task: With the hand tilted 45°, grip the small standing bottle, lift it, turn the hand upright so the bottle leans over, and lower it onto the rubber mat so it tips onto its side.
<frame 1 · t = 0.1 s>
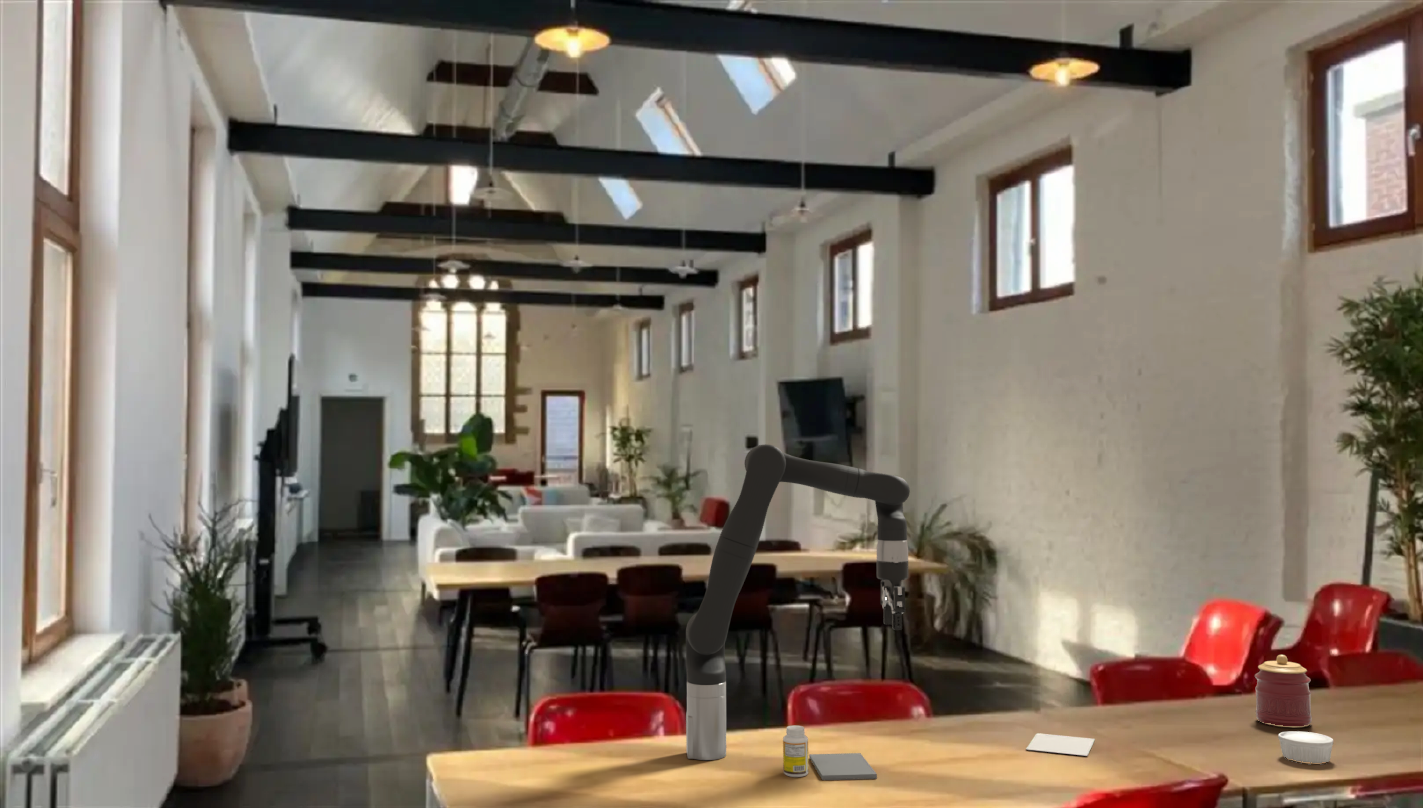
hand: (892, 627, 265), 29 cm above the table, tool pointing down, fingers open, 8 cm apart
paper stack: (1079, 754, 262), on the table
canister: (1283, 723, 289), on the table
mat: (842, 768, 249), on the table
supplement bottle: (795, 775, 245), on the table
ramekin: (1306, 760, 255), on the table
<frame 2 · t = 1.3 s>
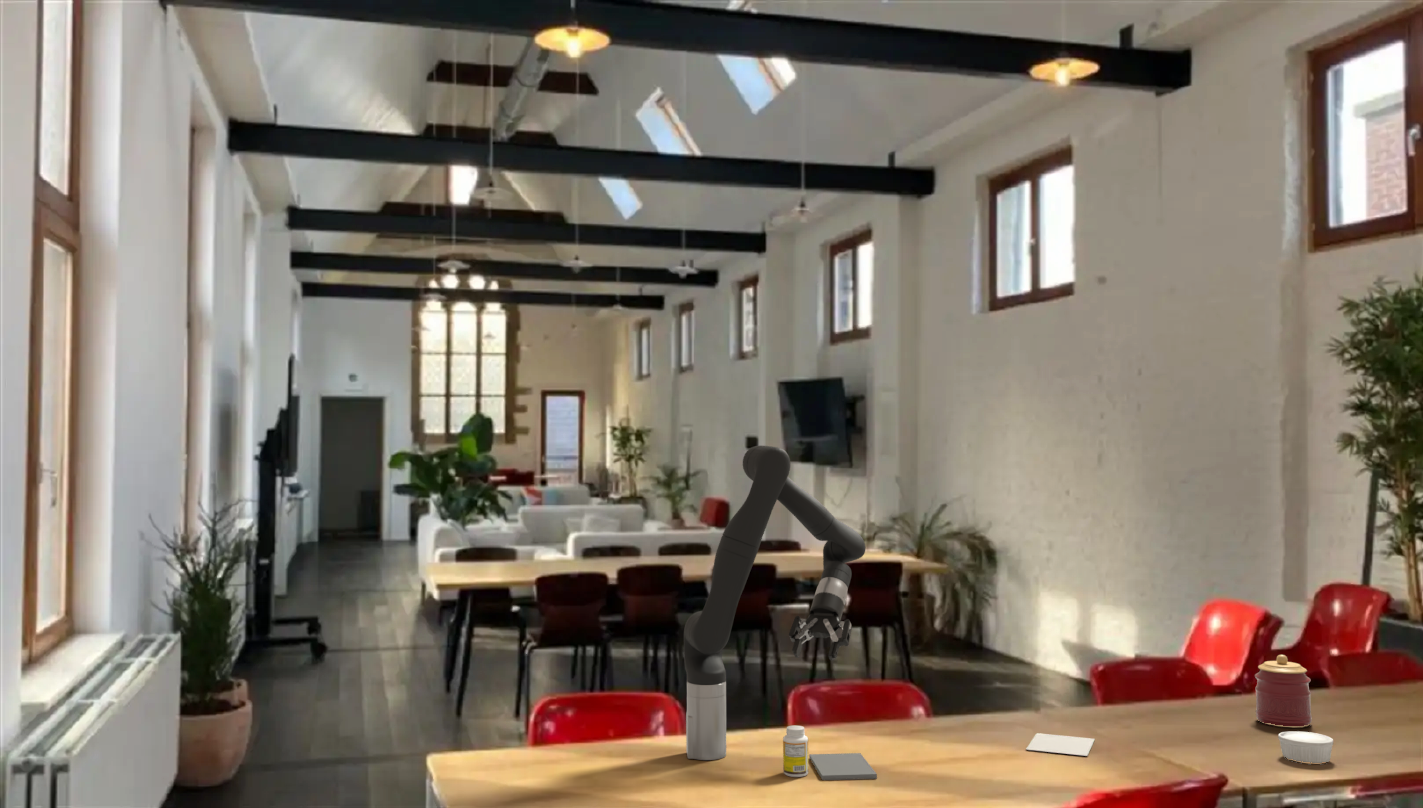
hand: (813, 656, 257), 24 cm above the table, tool tilted 45°, fingers open, 8 cm apart
nothing on the table moved.
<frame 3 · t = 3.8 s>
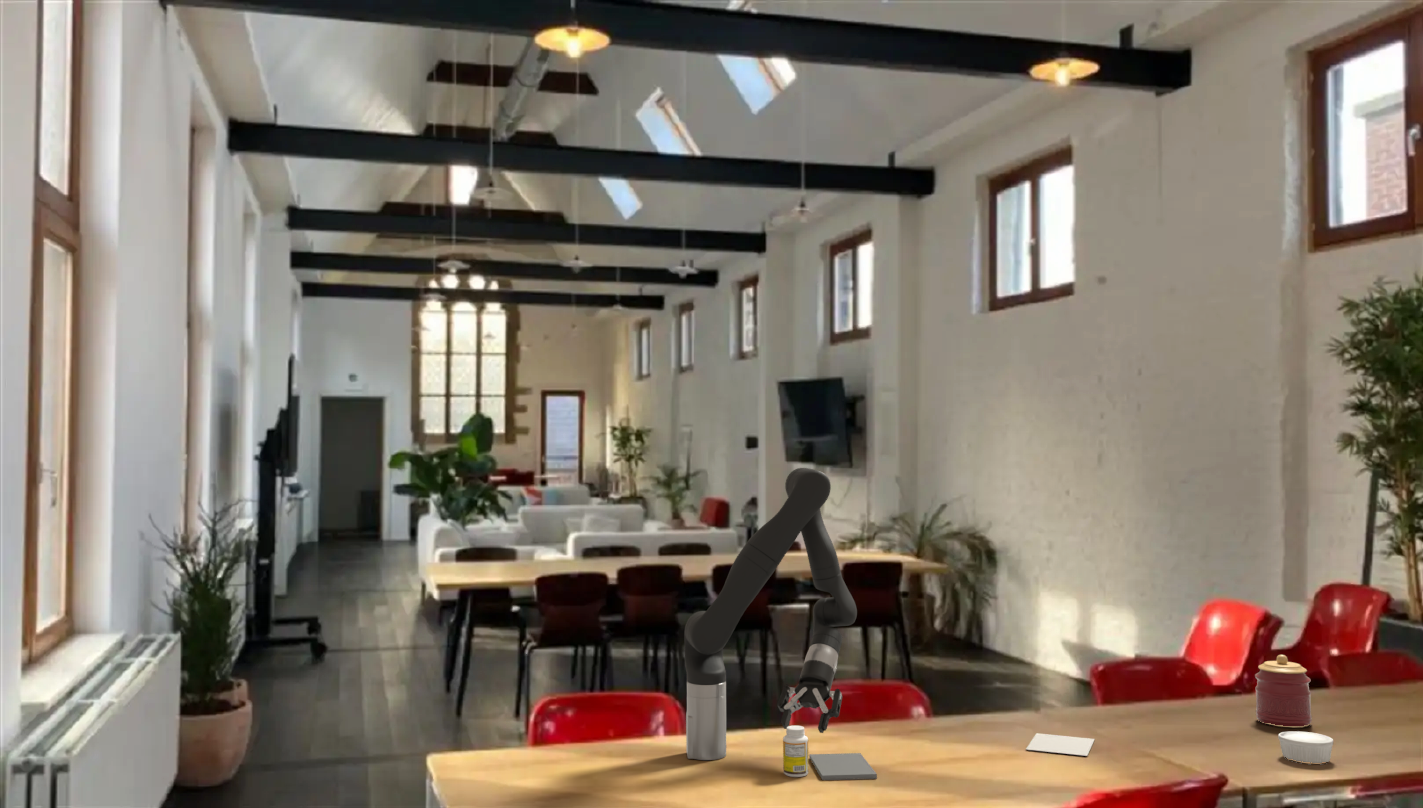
hand: (802, 728, 249), 9 cm above the table, tool tilted 45°, fingers open, 8 cm apart
nothing on the table moved.
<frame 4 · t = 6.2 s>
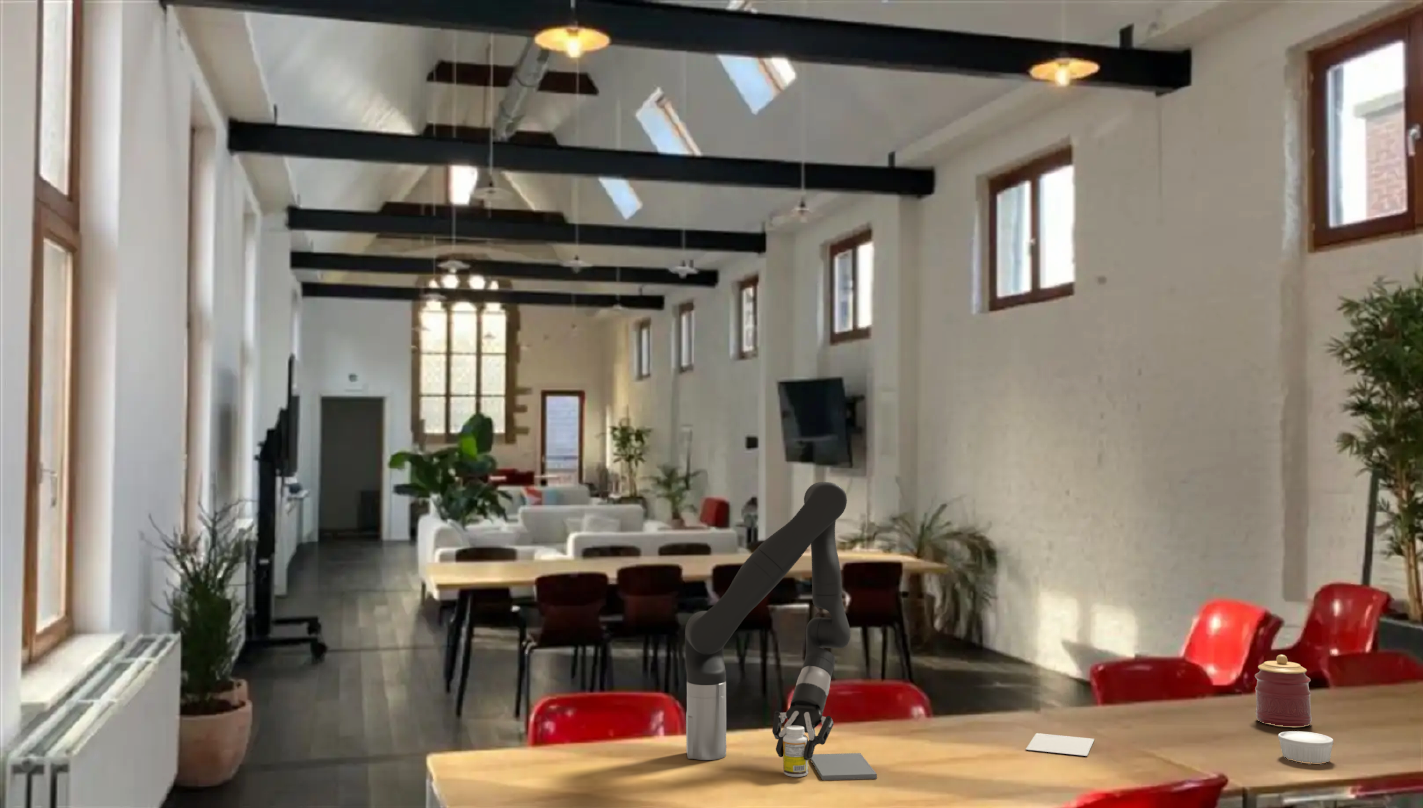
hand: (792, 756, 244), 4 cm above the table, tool tilted 45°, fingers closed on supplement bottle, 5 cm apart
supplement bottle: (795, 775, 245), on the table, touching gripper
everything else where it was.
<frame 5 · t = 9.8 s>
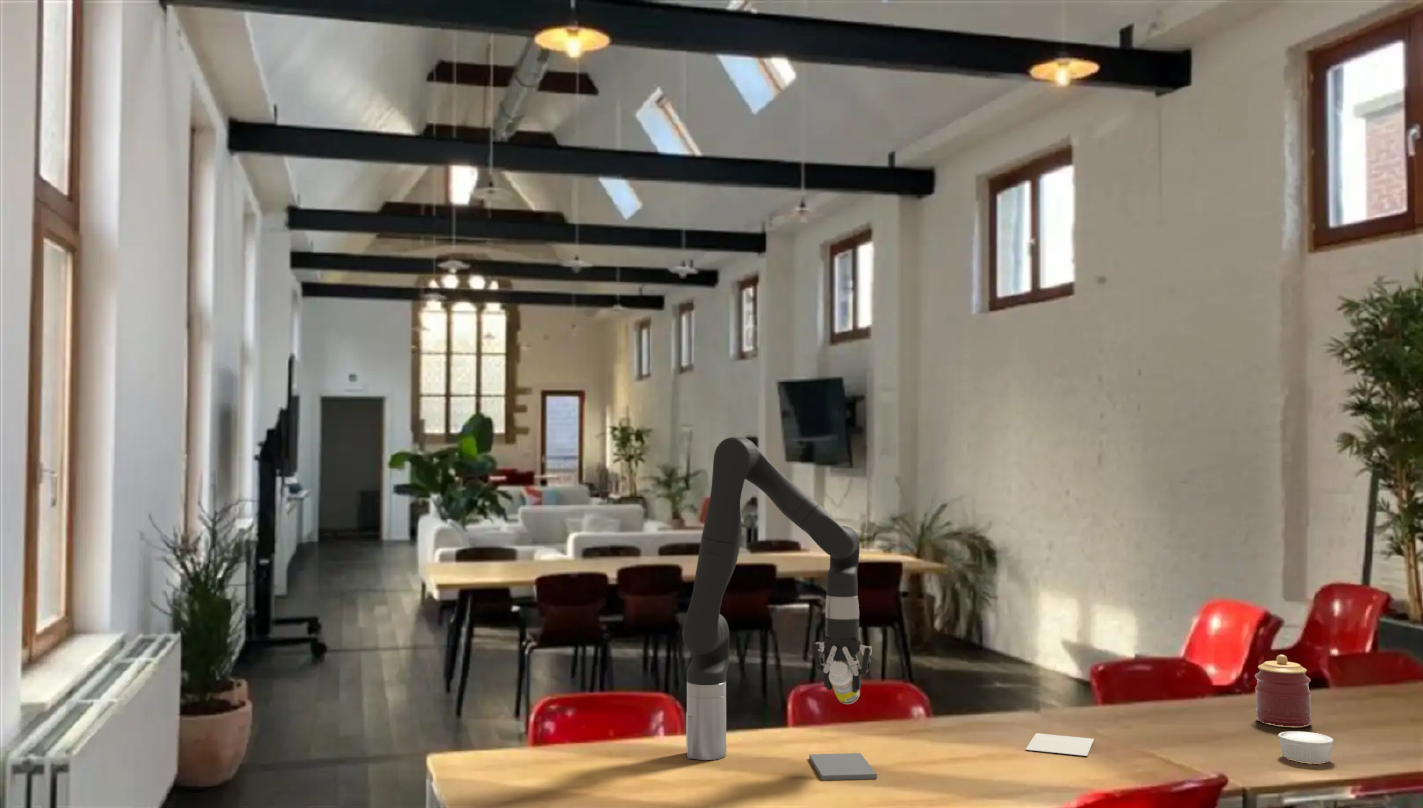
hand: (842, 690, 251), 17 cm above the table, tool pointing down, fingers closed on supplement bottle, 5 cm apart
supplement bottle: (848, 695, 255), point 15 cm above the table, touching gripper
everything else where it was.
when the fingers open (6 cm above the table, at t = 12.6 s): supplement bottle moves 5 cm, resting on mat.
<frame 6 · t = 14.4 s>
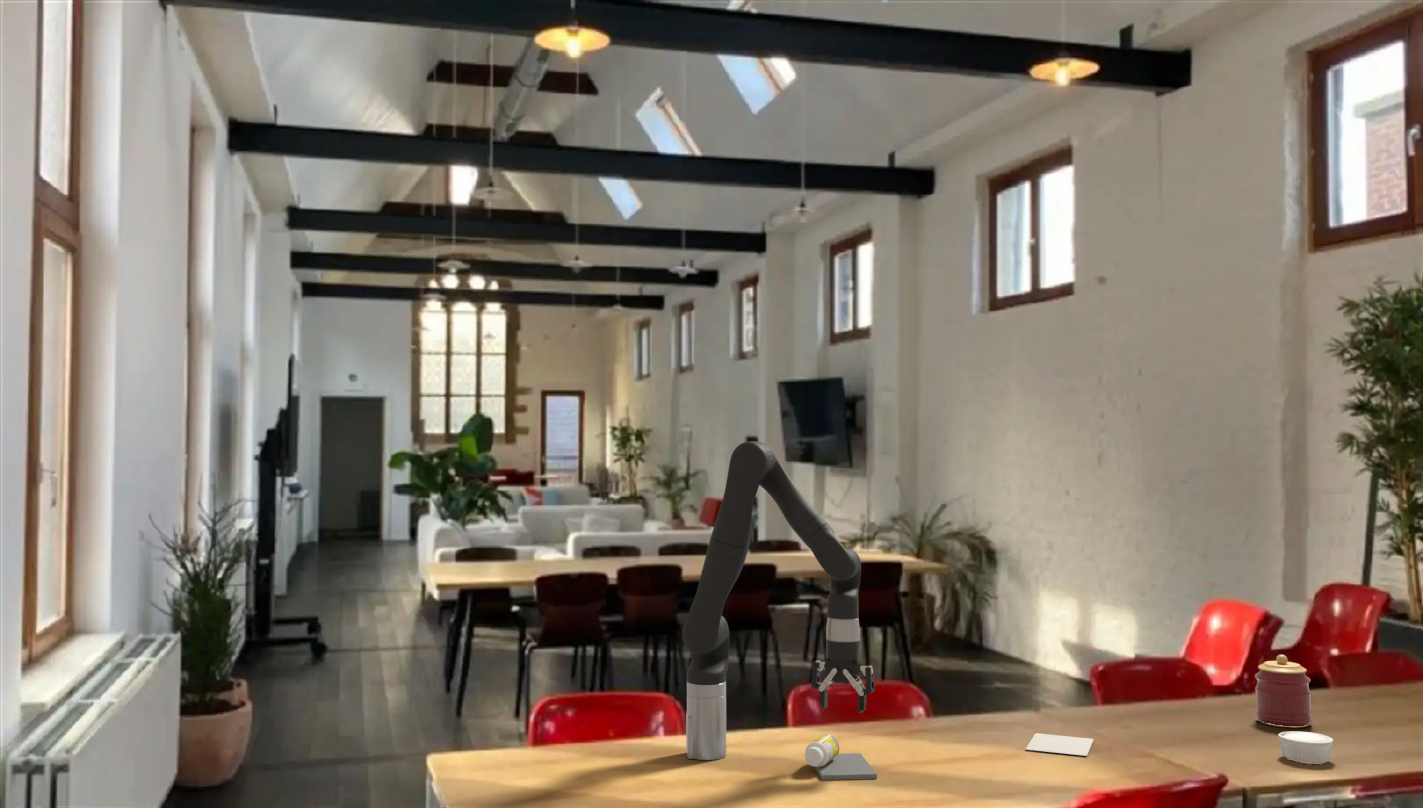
hand: (842, 709, 251), 13 cm above the table, tool pointing down, fingers open, 8 cm apart
supplement bottle: (829, 745, 254), point 4 cm above the table, touching mat
everything else where it was.
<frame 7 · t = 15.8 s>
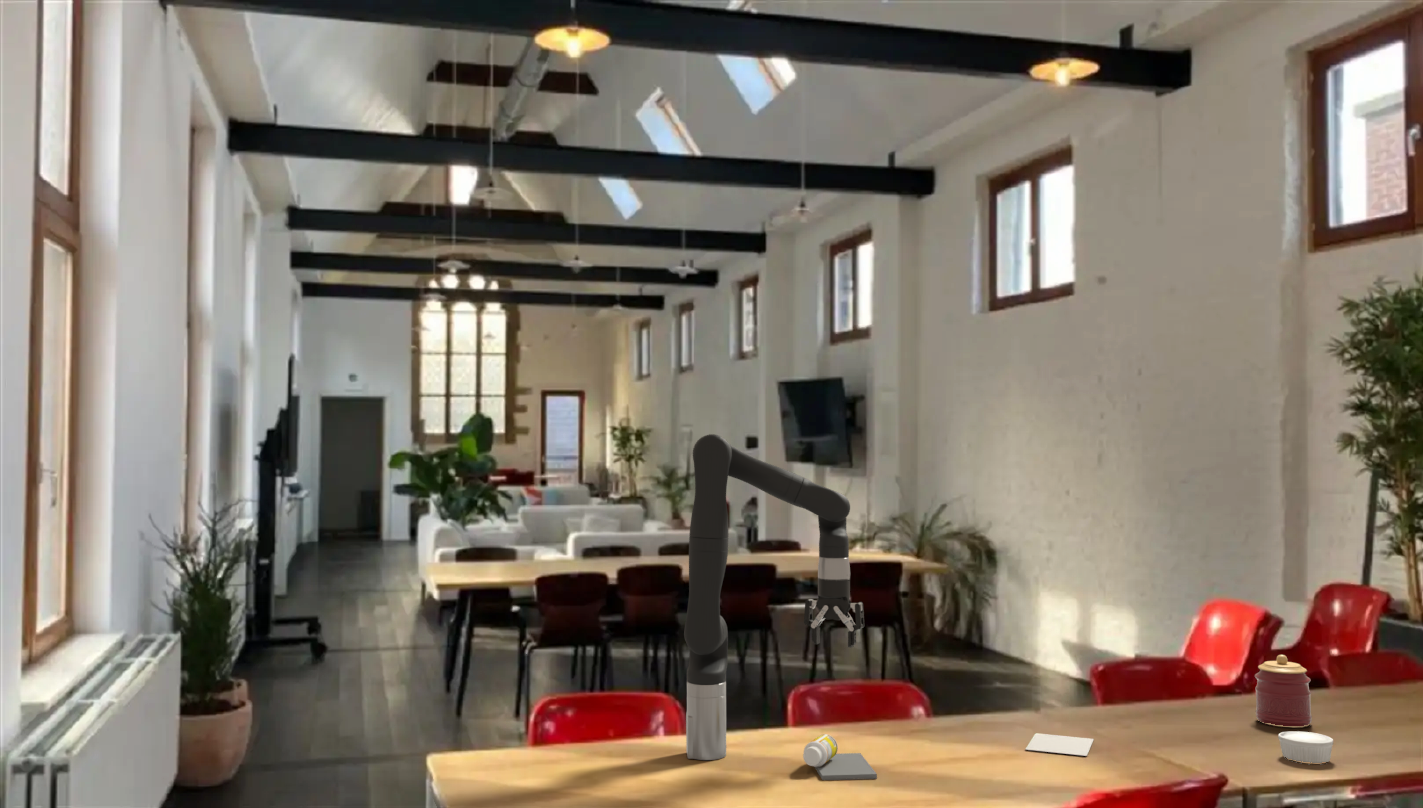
hand: (833, 645, 262), 25 cm above the table, tool pointing down, fingers open, 8 cm apart
nothing on the table moved.
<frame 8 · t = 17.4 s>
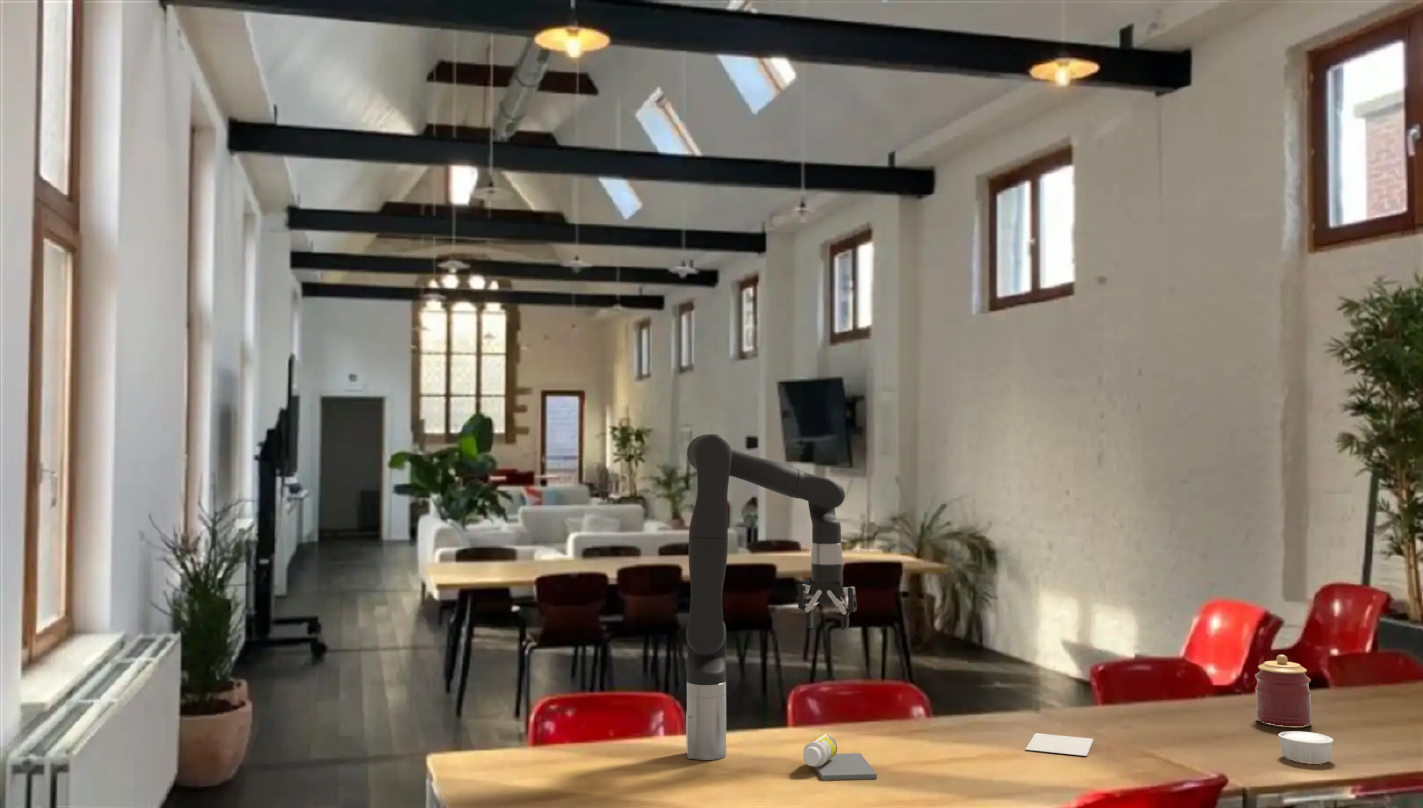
hand: (827, 628, 270), 28 cm above the table, tool pointing down, fingers open, 8 cm apart
nothing on the table moved.
at the end: supplement bottle tilted 90°; supplement bottle inside the target area on the mat (5.6 cm from its centre), point 3.8 cm above the mat's base; the gripper is holding nothing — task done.
